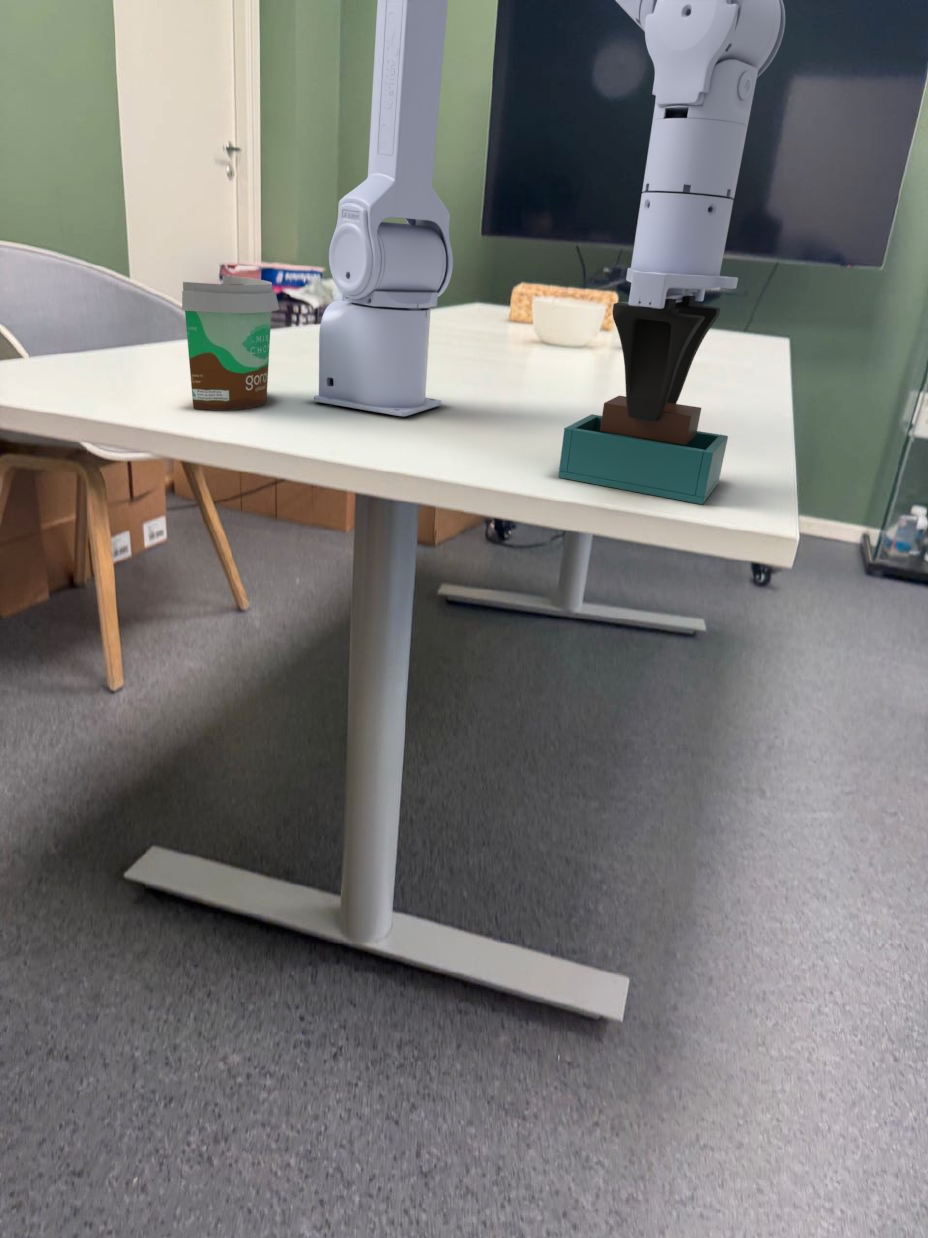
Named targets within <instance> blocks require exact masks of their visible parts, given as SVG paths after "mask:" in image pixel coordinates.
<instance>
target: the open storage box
mask: <svg viewBox="0 0 928 1238" xmlns="http://www.w3.org/2000/svg"><path fill="white" fill-rule="evenodd" d="M601 420H602V415H599V414H590V415H587V416H586V417H583V418H582V419H580V420H578V421H576V422H574V423H572V424H570V425H568V426H566V427H564V430H563V437H562V445H561V452H560V461H559V467H558V478H561V479H566V480H570V481H576V482H581V483H586V484H593V485H597V486H602V487H608V488H613V489H619V490H624V491H630V492H633V493H640V494H644V495H645V494H646V495H651V496H656V497H660V498H666V499H671V500H677V501H683V502H688V503H691V504H692V503H693V504H697V505H698V504H699V505H704V503H705V502H706V501H707V499H708V498H709V496H710V495H711V493H712V492H713V491H714V489H715V488H717V486H718V484H719V482H720V476H721V471H722V467H723V463H724V458H725V453H726V449H727V444H728V439H729V436H728V435H725V434H719V433H712V432H706V431H700V430H697V434H696V436H695V437H694V438H693V439H692V440H691V441H690V442H689V443H688V444H686V445H679V444H673V443H667V442H660V441H654V440H648V439H642V438H636V437H630V436H624V435H618V434H612V433H606V432H600V427H601Z"/></svg>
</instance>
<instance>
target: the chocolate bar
mask: <svg viewBox="0 0 928 1238" xmlns="http://www.w3.org/2000/svg"><path fill="white" fill-rule="evenodd" d="M701 412H702V407H700V406H695V405H694V406H692V405H687V404H680V403H676V404H673V403H667V404H666V406H665V409H664V411H663V413H662V415H661V417H660V419H659V420H658V421H651V420H644V419H638V418H631V417H628V412H627V403H626V395H617V396H615V397H613V398H611V399H609V400H607V401H605V402H603V408H602V414H601V416H602V420H601V427H600V432H606V433H612V434H618V435H624V436H630V437H636V438H642V439H648V440H654V441H660V442H667V443H673V444H679V445H686V444H688V443H689V442H690V441H691V440H692V439H693V438H694V437H695V436H696V434H697V431H698V428H699V423H700V417H701Z"/></svg>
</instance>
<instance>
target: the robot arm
mask: <svg viewBox="0 0 928 1238" xmlns="http://www.w3.org/2000/svg"><path fill="white" fill-rule="evenodd" d="M614 1H615V2H616V4H618V5H619V6H620V7H621V8H622V10H623V11H624V12H626V14H627V15H628V16H629V17H630V18H631V19H632V20H633V21H634V22H635V24H636V25H638V27H639V28H640V29H641V30H642V31H643V32H644V38H645V44H646V49H647V52H648V55H649V56H650V59H651V61H652V64H653V68H654V78H653V79H654V80H653V86H652V93H651V95H653V96H655V101H654V108H653V116H652V122H651V130H650V135H649V142H648V150H647V156H646V162H645V170H644V177H643V184H642V190H641V192H642V193H641V197H640V203H639V210H638V217H637V224H636V230H635V237H634V244H633V251H632V256H631V263H630V264H631V265H630V267H628V268H627V269H626V270H627V271H626V277H625V280H626V281H627V282H629V283H631V284H630V290H629V296H628V297H629V298H628V302H622V301H621V302H615V303H613V305H612V319H613V322H614V324H615V327H616V330H617V333H618V337H619V340H620V345H621V349H622V355H623V364H624V379H625V382H624V383H625V396H626V403H627V412H628V417H631V418H638V419H644V420H651V421H658V420H659V419H660V417H661V415H662V413H663V411H664V409H665V406H666V404H667V403H673V404H678V403H677V402H678V401H679V398H680V396H681V393H682V391H683V388H684V385H685V383H686V380H687V377H688V375H689V371H690V369H691V366H692V363H693V361H694V359H695V357H696V354H697V352H698V350H699V348H700V346H701V344H702V343H703V341H704V340H705V337H706V335H707V334H708V332H709V331H710V329H711V328H712V326H713V325H714V323H715V322H716V320H717V319H718V317H719V316H720V313H721V307H717V306H710V305H700V304H696V302H703V301H704V299H705V293H706V290H711V291H712V290H713V291H715V290H720V289H728V290H734V289H737V286H738V281H739V277H736V276H725V275H721V269H722V266H723V258H724V255H725V254H724V253H725V249H726V245H727V244H726V243H727V238H728V233H729V228H730V222H731V216H732V211H733V205H734V199H735V197H736V196H735V195H736V191H737V190H736V189H737V185H738V179H739V175H740V169H741V164H742V159H743V153H744V148H745V143H746V137H747V131H748V127H749V121H750V117H751V112H752V105H753V100H754V95H755V89H756V85H757V79H758V78H759V77H760V76H761V75H762V74H763V73H764V72H765V71H766V70H767V69H768V68H769V66H770V64H771V63H772V62H773V60H774V58H775V57H776V55H777V53H778V51H779V48H780V47H781V44H782V41H783V38H784V33H785V27H786V10H785V9H786V8H785V5H784V1H783V0H614ZM376 5H377V6H376V22H375V41H374V57H373V58H374V59H373V73H372V74H373V76H372V77H373V78H372V94H371V111H370V130H369V145H368V146H369V148H368V168H367V177H366V179H365V180H363V181H362V182H361V183H360V184H359V185H358V186H356V187H355V188H354V189H352V190H351V191H349V192H348V193H347V194H345V195H344V196H343V197H342V198H341V199H340V200H339V201H338V211H337V221H336V226H335V230H334V232H333V235H332V238H331V241H330V245H329V250H328V262H329V264H328V265H329V269H330V273H331V276H332V279H333V282H334V284H335V286H336V288H337V289H338V291H339V292H340V293H341V297H342V298H341V299H338V300H334V301H332V302H330V303H329V304H328V306H327V307H325V309H324V312H323V314H322V317H321V320H320V325H319V333H318V395H315V396H313V400H314V402H315V403H321V404H322V403H323V404H327V405H334V406H339V407H343V408H344V407H345V408H349V409H350V408H351V409H356V410H361V411H368V412H373V413H379V414H385V415H391V416H395V417H396V416H397V417H408V416H411V415H414V414H418V413H420V412H424V411H427V410H431V409H433V408H437V407H439V406H442V405H443V401H442V399H437V398H433V397H431V398H430V397H426V395H427V393H426V392H427V377H428V359H429V346H430V345H429V344H430V343H429V342H430V329H431V328H430V327H431V326H430V325H431V310H432V309H431V308H433V307H434V308H435V307H438V298H439V297H440V296H441V295H443V294H444V292H445V291H446V289H447V288H448V287H449V286H448V285H449V284H450V282H451V278H452V274H453V269H454V255H453V250H452V246H451V241H450V220H451V214H450V211H449V210H448V209H447V207H446V206H445V204H444V202H443V201H442V200H441V198H440V196H439V195H438V194H437V192H436V190H435V189H434V186H433V181H434V167H435V157H436V145H437V133H438V122H439V121H438V120H439V110H440V97H441V87H442V74H443V61H444V52H445V39H446V30H447V29H446V28H447V17H448V5H449V0H377V3H376ZM388 218H400V219H404V220H405V221H406V223H398V222H388V221H384V220H386V219H388Z"/></svg>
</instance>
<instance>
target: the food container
mask: <svg viewBox="0 0 928 1238" xmlns="http://www.w3.org/2000/svg"><path fill="white" fill-rule="evenodd" d="M182 288H183V289H182V290H181V294H182V295H181V310H182V311H184V314H185V315H184V316H185V327H186V328H185V329H186V338H187V350H188V361H189V363H188V364H189V374H190V385H191V387H190V388H191V397H192V408H193V409H194V410H205V411H206V410H209V411H210V410H213V411H215V410H216V411H222V410H223V411H228V410H230V411H231V410H244V409H252V408H258V407H261V406H263V405H266V404H267V402H268V401H267V400H268V399H267V398H268V381H269V363H270V347H271V328H272V327H271V324H272V312H276V311H279V310H280V307H279V302H278V297H277V293H276V290H274V289H273V283H272V282H271V281H270V280H269V281H268V280H264V279H258V278H250V277H243V276H242V277H241V276H233V275H232V276H231V275H222V283H207V282H191V281H182Z"/></svg>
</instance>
